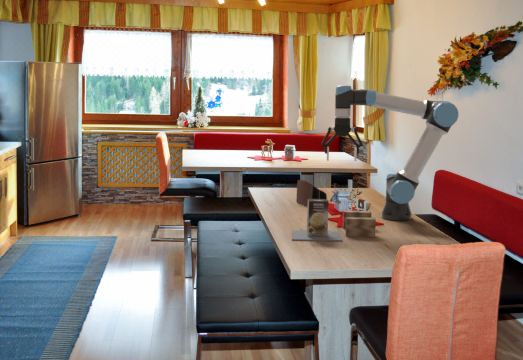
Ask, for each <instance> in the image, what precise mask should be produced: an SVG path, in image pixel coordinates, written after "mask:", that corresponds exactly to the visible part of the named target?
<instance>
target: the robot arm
mask: <svg viewBox="0 0 523 360" xmlns="http://www.w3.org/2000/svg"><path fill="white" fill-rule="evenodd" d="M334 97H335V98H334V99H335V100H334V101H335V102H334V116H335V118H334V126H333V127H331V126H328V128H327V132H326V134H325V135H324V138H323V140H322V141H321V146H322V147H323V148H324V154H325V155H326V161H327V162H328V161H329V160H330V159H329V158H330V157H329V155H330V147H329V146H330V144H331V143H332V142H333V141H334V140H335V139H336V138H337V137H348V138H349V139H350V141H351V142H352V143H353V145H355V147H354V156H353V157H354V158H353V159H354V162H357V157H358V156H357V155H359V153H360V148H361V147H363V146H364V144H363V142H362V140H361V138H360V136H359V133H358V130H357V127H355V126H354V127H351V118H350V117H351V111H352V110H351V107H352V106H367V107H371V108H377V109H382V110H388V111H393V112H397V113H401V114H407V115H412V116H417V117H420V119H422V120H426V121H425V125H426V128H425V129H424V131H423V132H422V134H421V135H420V138H419V140H418V141H417V143H416V144H415V147H414V149H412V152H411V154H410V156H409V158H408V160H407V161H406V163H405V165H404V167H403V168H402V170H398V171H397V172H396V173H387V174H386V179H385V181H386V184H385V187H386V188H385V203H384V206H383V208H382V211H381V218H382V219H384V220H387V221H388V220H390V221H397V222H398V221H410V220H412V217H413V216H412V215H413V214H412V211H411V207H410V202H411V201H412V200H413V199H414V197H415V192H416V189H417V188H418V187H419V183H420V180H419V178H420V176H421V174H422V172H423V170H424V169H425V167H426V165H427V164H428V162H429V160H430V159H431V156H433V155H432V154H433V153H434V151H435V149H436V147H437V146H438V145H439V143H440V140H441V138H442V137H443V135H444V136H445V135H446V134H448V132H449V131H450V129H451V128H452V127H453V126H454V125H455V123H457V121H458V118H459V111H458V108H457V107H456V105H455V104H454V103H452V102H450V101H445V100H437V101H436V100H428V99H425V100H424V101H423V100H419V99H418V100H417V99H412V98H407V97H404V96H403V97H402V96H397V95H393V94H387V93H382V92H379V91H378V92H377V90H375V89H365V88H361V89H352V86H351V85H337V86H336V87H335V96H334ZM351 131H352V133H353V134H354V135H355V138H356V140H357V141H358V142H357V141H356V140H355V139H354V137H352V135H351V134H350V132H351ZM331 132H334V134H333V135H332V137H330V139H329V140H328V138H329V136H330V134H331Z"/></svg>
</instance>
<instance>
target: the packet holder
mask: <svg viewBox="0 0 523 360" xmlns="http://www.w3.org/2000/svg"><path fill="white" fill-rule="evenodd" d="M376 224H377V221H376V218H375V217H372V210H342V229H345V237H355V238H356V237H360V238H361V237H365V238H366V237H369V238H371V237H372V238H374V237H375V238H376Z"/></svg>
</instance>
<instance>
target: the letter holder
mask: <svg viewBox="0 0 523 360" xmlns="http://www.w3.org/2000/svg"><path fill="white" fill-rule="evenodd" d="M296 185H297V186H296V187H297V188H296V198H295V199H296V203H298V204H301V205H303V206H305V207H306V208H308V199H327V200H328V197H327V196H328V195H327V193H326V192H325V191H323V190H322V189H319V188H318V187H316V186H314V185H313V184H312V183H310V182H309V181H307V180H305V179H298V180H297V184H296Z"/></svg>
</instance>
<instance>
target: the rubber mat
mask: <svg viewBox="0 0 523 360" xmlns="http://www.w3.org/2000/svg"><path fill="white" fill-rule="evenodd" d="M342 237H343V236H342V235H341V231H340V230H328V236H307V229H305V230H304V229H303V230H298V229H292V230H291V241H293V242H294V241H296V242H297V241H299V242H300V241H301V242H302V241H303V242H312V241H313V242H343V238H342Z"/></svg>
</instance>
